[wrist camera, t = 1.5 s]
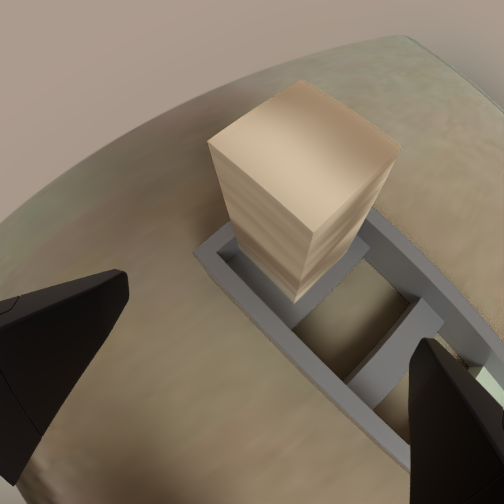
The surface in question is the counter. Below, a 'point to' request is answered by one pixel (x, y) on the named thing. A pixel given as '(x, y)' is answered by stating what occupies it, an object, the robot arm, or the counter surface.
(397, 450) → the box
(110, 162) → the counter surface
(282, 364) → the counter surface
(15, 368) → the robot arm
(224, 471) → the counter surface
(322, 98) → the birch block
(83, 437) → the counter surface
